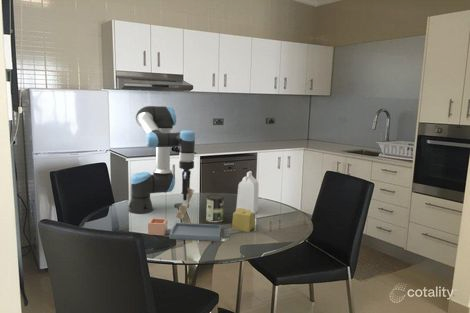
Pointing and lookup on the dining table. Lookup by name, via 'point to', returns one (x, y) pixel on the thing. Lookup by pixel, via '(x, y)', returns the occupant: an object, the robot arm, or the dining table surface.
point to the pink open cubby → (157, 226)
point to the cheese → (243, 220)
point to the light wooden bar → (183, 208)
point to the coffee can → (214, 208)
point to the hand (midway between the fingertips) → (185, 204)
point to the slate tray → (195, 231)
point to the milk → (248, 193)
